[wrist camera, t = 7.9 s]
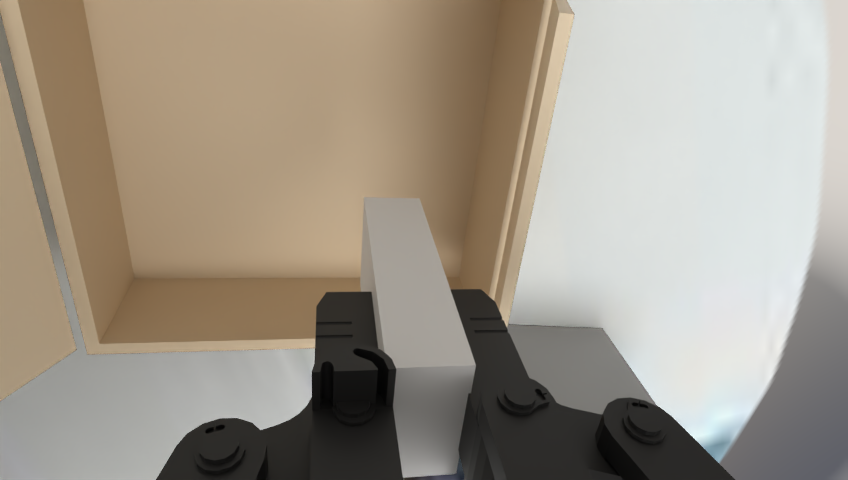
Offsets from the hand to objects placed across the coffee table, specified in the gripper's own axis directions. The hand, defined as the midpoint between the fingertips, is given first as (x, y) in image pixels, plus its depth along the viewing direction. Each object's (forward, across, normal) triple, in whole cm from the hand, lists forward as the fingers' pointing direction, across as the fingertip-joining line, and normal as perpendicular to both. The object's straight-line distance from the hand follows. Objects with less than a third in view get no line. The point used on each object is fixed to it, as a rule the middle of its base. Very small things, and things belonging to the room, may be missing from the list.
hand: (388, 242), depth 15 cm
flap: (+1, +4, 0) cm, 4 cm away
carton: (+10, -3, 0) cm, 10 cm away
